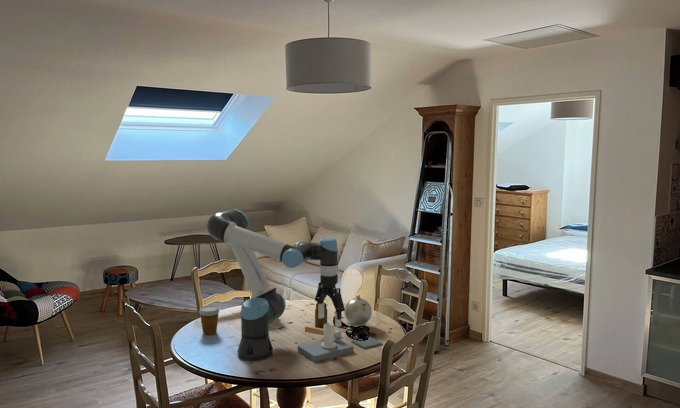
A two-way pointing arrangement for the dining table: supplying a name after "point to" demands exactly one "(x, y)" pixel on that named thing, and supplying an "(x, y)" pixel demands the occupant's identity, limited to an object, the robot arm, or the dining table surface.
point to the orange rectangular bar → (321, 331)
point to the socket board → (324, 350)
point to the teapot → (358, 312)
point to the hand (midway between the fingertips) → (329, 322)
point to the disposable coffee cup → (209, 319)
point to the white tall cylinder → (328, 337)
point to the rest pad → (367, 343)
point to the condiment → (320, 322)
